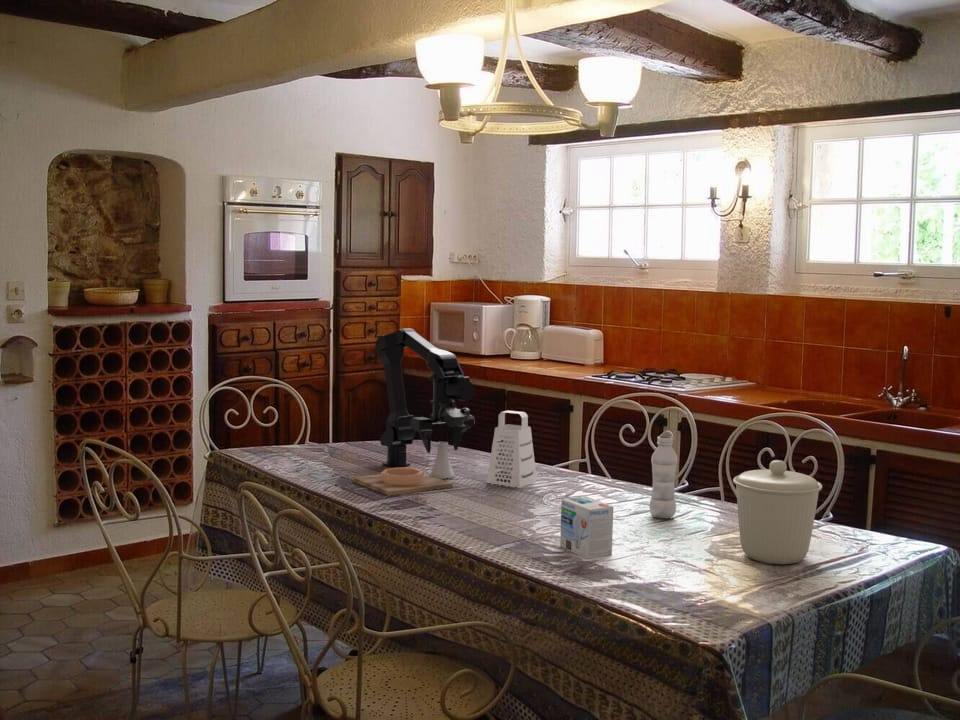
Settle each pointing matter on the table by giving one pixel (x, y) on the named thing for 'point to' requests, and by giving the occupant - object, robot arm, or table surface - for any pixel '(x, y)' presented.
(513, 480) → the grater
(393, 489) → the board
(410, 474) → the ring
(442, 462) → the flask
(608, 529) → the light bulb box
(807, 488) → the canister
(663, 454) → the plastic bottle
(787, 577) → the table surface
